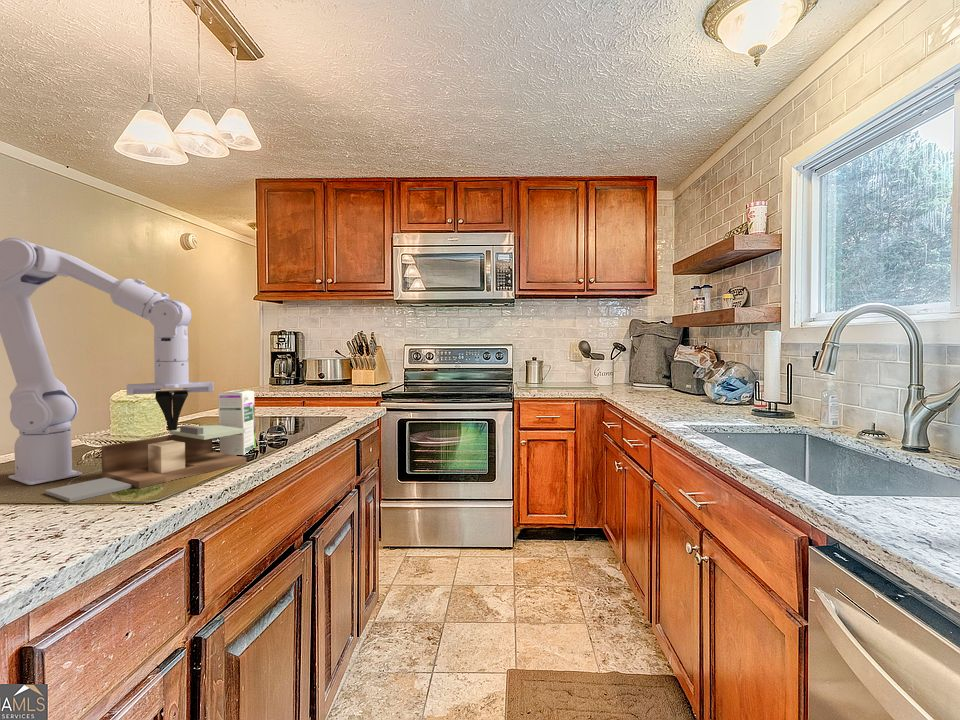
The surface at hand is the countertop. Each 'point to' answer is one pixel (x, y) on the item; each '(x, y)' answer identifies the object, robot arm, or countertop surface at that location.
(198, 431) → the cover
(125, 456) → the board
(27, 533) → the countertop surface
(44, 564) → the countertop surface
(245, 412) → the syrup box
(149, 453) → the block
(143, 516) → the countertop surface
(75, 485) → the mat
